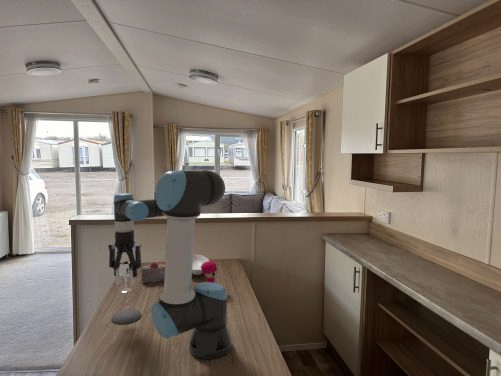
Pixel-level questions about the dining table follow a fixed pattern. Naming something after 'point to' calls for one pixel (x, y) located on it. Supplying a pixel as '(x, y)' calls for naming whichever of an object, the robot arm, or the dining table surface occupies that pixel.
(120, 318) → the coaster
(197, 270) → the bowl
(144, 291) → the dining table surface
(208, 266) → the toy
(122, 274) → the wineglass
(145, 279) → the food item
